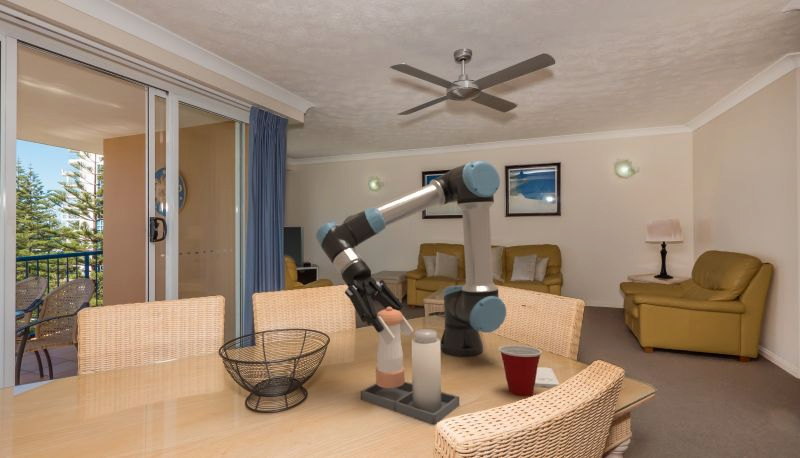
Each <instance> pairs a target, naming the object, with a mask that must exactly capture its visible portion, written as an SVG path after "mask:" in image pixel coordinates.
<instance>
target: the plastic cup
mask: <svg viewBox="0 0 800 458" xmlns="http://www.w3.org/2000/svg"><path fill="white" fill-rule="evenodd" d="M498 350H499V353H500V355H501V358H502V363H503V367H504V368H503V369H504V372H505V374H504V375H505V379H506V383H507V388H508V392H509V393H510V394H512V395H515V396H519V397H527V396H528V397H531V396H532V397H533V396H534V395H533V394H534V391H535V390H534V389H535V387H534V384H535V380H536V374H537V367H539V361H540V357H541V355H542V354H543V351H542V350H541V349H540V348H538V347H533V346H528V345H522V344H521V345H520V344H518V345H517V344H511V345H510V344H507V345H502V346H499V347H498Z"/></svg>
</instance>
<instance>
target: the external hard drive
mask: <svg viewBox="0 0 800 458" xmlns="http://www.w3.org/2000/svg"><path fill="white" fill-rule="evenodd" d="M559 384H560V382H559V380H558V378H557V376H556V374H555V372H554V371H553V369H552V368H551V367H544V366H543V367H542V366H541V367H540V366H538V367H537V374H536V380H535V384H534V388H547V389H548V388H549V389H553V388H552V387H555V386H557V385H559Z"/></svg>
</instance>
